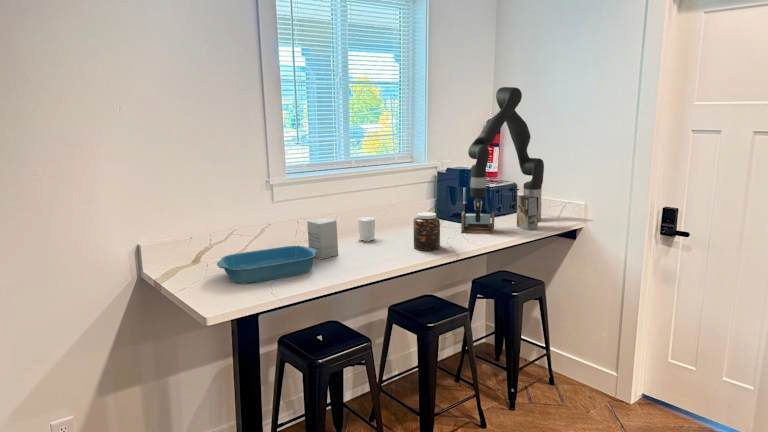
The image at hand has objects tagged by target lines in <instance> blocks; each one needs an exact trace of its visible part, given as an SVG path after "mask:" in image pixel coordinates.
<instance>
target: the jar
mask: <svg viewBox="0 0 768 432" xmlns="http://www.w3.org/2000/svg"><path fill="white" fill-rule="evenodd" d="M440 248H441V221H440V218H438V216H437V213H435V212H431V211H429V212H428V211H423V212H418V213H417V214H416V217H415V218H414V219H413V249H414V250H417V251H420V252H433V251H438V250H439V249H440Z"/></svg>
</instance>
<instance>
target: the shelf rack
mask: <svg viewBox="0 0 768 432" xmlns="http://www.w3.org/2000/svg"><path fill="white" fill-rule="evenodd" d="M465 215H466V212H465V211H462V212H461V221H460V222H461V223H460V224H461V225H460V227H461V228H460V230H461V231H460V233H461V234H493V235H494V234H495V212H493V211H492V212H491V223H490V224H465Z"/></svg>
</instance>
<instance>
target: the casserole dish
mask: <svg viewBox="0 0 768 432" xmlns="http://www.w3.org/2000/svg"><path fill="white" fill-rule="evenodd" d="M316 252H317V251H316V250H315V249H313V248H309V246H302V245H287V246H282V247H273V248H266V249H259V250H251V251H244V252H239V253H232V254H228V255H225V256H222V257H221V259H220V260H218V261H217V262H216V266H217V267H218V268H219V269H223V270H224V272H225V273H226V275H227V277H229V278H230V280H231V281H232V282H234V283H235V284H239V283H242V284H243V283H247V284H254V283H253V282H255V283H261V282H267V281H272V280H278V279H284V277H285V278H289V277H295V276H300V275H304V274H306V273H308V272H309V271H311V269H312V268H313V265H314V262H315V253H316ZM266 280H267V281H266ZM260 281H261V282H260ZM242 284H241V285H242ZM243 285H244V284H243Z"/></svg>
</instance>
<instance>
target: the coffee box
mask: <svg viewBox="0 0 768 432" xmlns="http://www.w3.org/2000/svg"><path fill="white" fill-rule="evenodd" d="M516 203H517V204H516V228H519V229H522V230H525V231H526V230H527V231H533V230H538V227H539V226H538V224H539V223H538V222H539V221H538V197H534V196H529V195H517V197H516Z"/></svg>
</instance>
